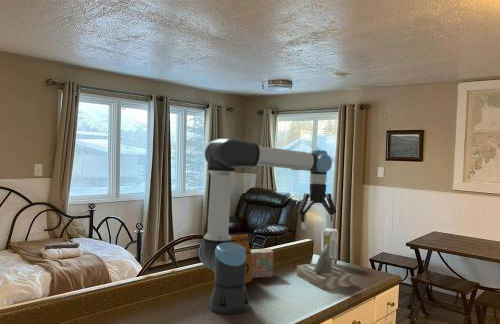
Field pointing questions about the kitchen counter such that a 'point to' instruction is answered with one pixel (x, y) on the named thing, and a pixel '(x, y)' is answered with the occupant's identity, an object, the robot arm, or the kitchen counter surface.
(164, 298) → the kitchen counter surface
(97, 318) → the kitchen counter surface
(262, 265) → the stack of blocks
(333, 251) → the juice carton
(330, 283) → the birch plinth
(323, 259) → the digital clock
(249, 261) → the coffee package
